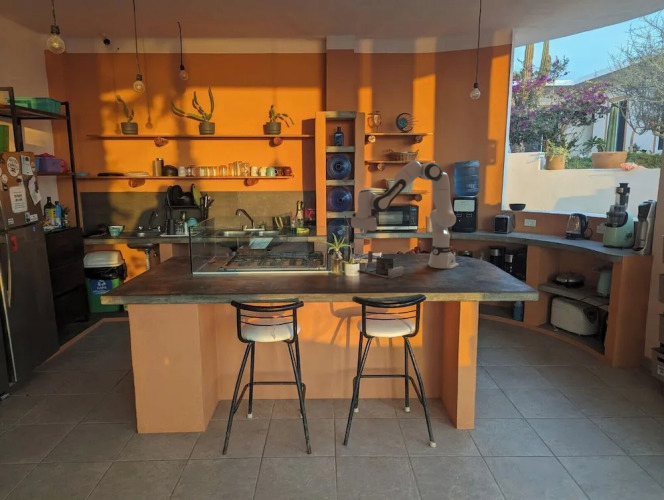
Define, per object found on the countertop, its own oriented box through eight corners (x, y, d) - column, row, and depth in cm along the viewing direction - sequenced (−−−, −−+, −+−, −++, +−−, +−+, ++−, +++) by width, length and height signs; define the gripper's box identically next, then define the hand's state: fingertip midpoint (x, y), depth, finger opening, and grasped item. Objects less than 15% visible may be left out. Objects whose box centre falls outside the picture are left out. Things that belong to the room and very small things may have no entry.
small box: (392, 272, 286) (393, 257, 284) (393, 275, 280) (393, 259, 278) (376, 272, 287) (376, 256, 285) (376, 274, 281) (376, 258, 279)
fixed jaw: (374, 267, 300) (374, 259, 299) (404, 274, 282) (405, 266, 281) (357, 271, 289) (357, 262, 288) (388, 279, 271) (388, 270, 270)
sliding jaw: (374, 268, 297) (375, 250, 295) (379, 269, 294) (380, 250, 292) (362, 270, 289) (363, 252, 287) (367, 272, 286) (367, 253, 284)
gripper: (379, 216, 285) (378, 237, 287) (356, 213, 299) (355, 233, 302) (372, 216, 280) (371, 238, 283) (349, 213, 295) (349, 234, 298)
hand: (363, 235), depth 293 cm, fingers closed
